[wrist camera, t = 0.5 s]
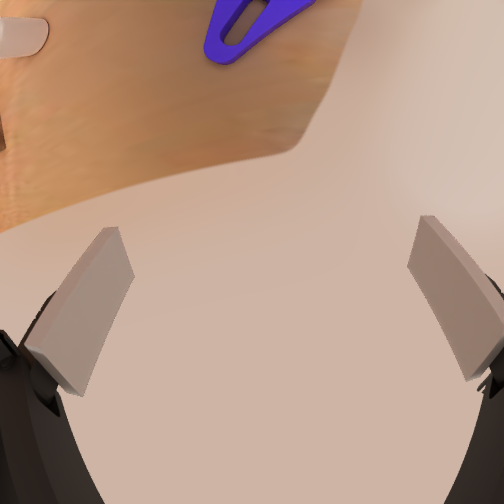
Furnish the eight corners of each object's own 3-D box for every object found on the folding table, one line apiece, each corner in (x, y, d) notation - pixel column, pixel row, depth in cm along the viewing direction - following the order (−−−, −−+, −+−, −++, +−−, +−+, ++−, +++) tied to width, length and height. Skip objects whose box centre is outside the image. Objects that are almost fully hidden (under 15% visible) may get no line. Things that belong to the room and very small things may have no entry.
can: (36, 61, 25) (-19, 70, 15) (17, 48, 23) (-35, 55, 13) (56, 25, 22) (1, 23, 12) (36, 13, 20) (-17, 12, 10)
